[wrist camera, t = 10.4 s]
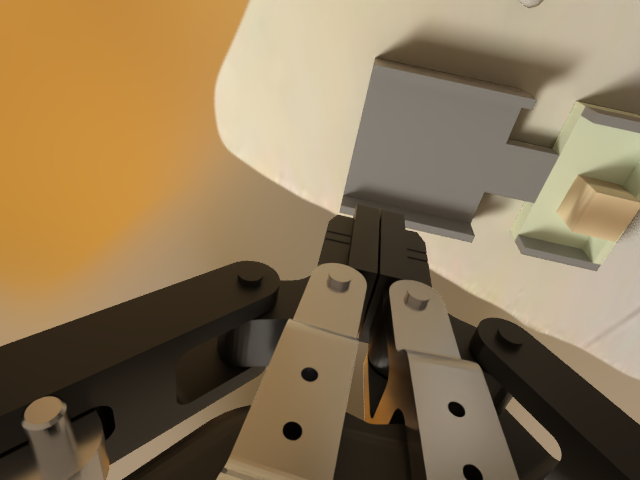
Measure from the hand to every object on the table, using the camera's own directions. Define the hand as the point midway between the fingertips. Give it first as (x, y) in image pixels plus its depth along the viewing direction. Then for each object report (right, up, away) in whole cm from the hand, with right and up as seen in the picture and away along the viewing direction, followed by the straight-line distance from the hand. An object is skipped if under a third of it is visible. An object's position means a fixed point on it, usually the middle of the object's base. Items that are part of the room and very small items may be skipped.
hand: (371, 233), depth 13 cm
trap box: (+15, +8, +27) cm, 32 cm away
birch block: (+24, +4, +26) cm, 35 cm away
